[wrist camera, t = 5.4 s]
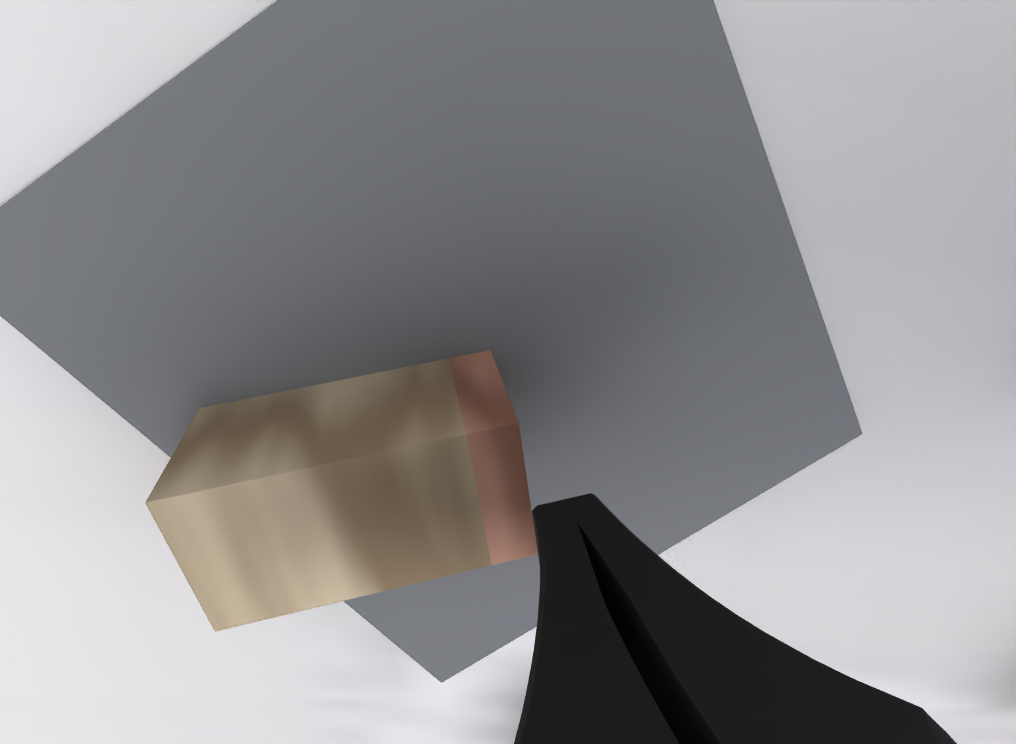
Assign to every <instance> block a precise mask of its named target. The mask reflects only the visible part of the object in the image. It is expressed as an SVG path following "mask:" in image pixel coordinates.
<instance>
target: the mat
mask: <svg viewBox="0 0 1016 744" xmlns="http://www.w3.org/2000/svg"><path fill="white" fill-rule="evenodd" d="M0 316H1V317H3V318H4V319H5V320H6V321H7V322H9V323H10V324H11V325H12V326H13V327H15V328H16V329H17V330H18V331H19V332H21V333H22V334H23V335H24V336H25V337H27V338H28V339H29V340H30V341H31V342H33V343H34V344H35V345H36V346H37V347H39V348H40V349H41V350H42V351H43V352H45V353H46V354H47V355H48V356H49V357H51V358H52V359H53V360H54V361H55V362H57V363H58V364H59V365H60V366H61V367H63V368H64V369H65V370H66V371H67V372H69V373H70V374H71V375H72V376H73V377H75V378H76V379H77V380H78V381H79V382H81V383H82V384H83V385H84V386H85V387H87V388H88V389H89V390H90V391H91V392H93V393H94V394H95V395H96V396H97V397H99V398H100V399H101V400H102V401H103V402H105V403H106V404H107V405H108V406H110V407H111V408H112V409H113V410H114V411H116V412H117V413H118V414H119V415H120V416H122V417H123V418H124V419H125V420H126V421H128V422H129V423H130V424H131V425H132V426H134V427H135V428H136V429H137V430H138V431H140V432H141V433H142V434H143V435H144V436H146V437H147V438H148V439H149V440H150V441H152V442H153V443H154V444H155V445H156V446H158V447H159V448H160V449H161V450H162V451H164V452H165V453H166V454H167V455H168V456H170V457H172V455H173V453H174V452H175V450H176V448H177V446H178V445H179V443H180V441H181V439H182V438H183V436H184V434H185V432H186V431H187V429H188V427H189V425H190V424H191V422H192V420H193V418H194V417H195V415H196V413H197V411H198V410H199V408H203V407H208V406H213V405H218V404H223V403H228V402H233V401H238V400H243V399H248V398H253V397H258V396H263V395H268V394H273V393H278V392H283V391H288V390H293V389H298V388H303V387H308V386H313V385H318V384H323V383H328V382H333V381H338V380H343V379H348V378H353V377H358V376H363V375H368V374H373V373H378V372H383V371H388V370H393V369H398V368H403V367H408V366H413V365H418V364H423V363H428V362H433V361H438V360H443V359H448V358H453V357H458V356H463V355H468V354H473V353H478V352H483V351H488V350H491V353H492V355H493V358H494V360H495V363H496V365H497V368H498V370H499V373H500V376H501V378H502V381H503V383H504V386H505V388H506V391H507V394H508V396H509V399H510V401H511V404H512V406H513V409H514V411H515V414H516V417H517V419H518V422H519V427H520V434H521V441H522V448H523V454H524V461H525V468H526V475H527V482H528V489H529V496H530V503H531V510H533V509H534V508H535V507H536V506H537V505H541V504H546V503H550V502H554V501H559V500H563V499H567V498H572V497H576V496H581V495H585V494H589V493H592V494H594V495H595V496H597V497H598V498H599V499H600V500H601V502H602V503H603V504H604V505H605V506H606V507H607V508H608V509H609V510H610V511H611V512H612V513H613V514H614V515H615V516H616V517H617V518H618V519H619V520H620V521H621V522H622V523H623V524H624V525H625V526H626V527H627V528H628V529H629V530H630V531H631V532H632V533H633V534H634V535H636V536H637V537H638V538H639V539H640V540H641V541H642V542H643V543H644V544H646V545H647V546H648V547H649V548H650V549H651V550H652V551H654V552H655V553H656V554H657V555H658V554H660V553H662V552H663V551H665V550H667V549H668V548H670V547H672V546H674V545H675V544H677V543H679V542H680V541H682V540H684V539H685V538H687V537H689V536H690V535H692V534H694V533H695V532H697V531H699V530H701V529H702V528H704V527H706V526H707V525H709V524H711V523H712V522H714V521H716V520H717V519H719V518H721V517H723V516H724V515H726V514H728V513H729V512H731V511H733V510H734V509H736V508H738V507H739V506H741V505H743V504H745V503H746V502H748V501H750V500H751V499H753V498H755V497H756V496H758V495H760V494H761V493H763V492H765V491H767V490H768V489H770V488H772V487H773V486H775V485H777V484H778V483H780V482H782V481H783V480H785V479H787V478H789V477H790V476H792V475H794V474H795V473H797V472H799V471H800V470H802V469H804V468H805V467H807V466H809V465H811V464H812V463H814V462H816V461H817V460H819V459H821V458H822V457H824V456H826V455H827V454H829V453H831V452H833V451H834V450H836V449H838V448H839V447H841V446H843V445H844V444H846V443H848V442H849V441H851V440H853V439H854V438H856V437H858V436H860V435H861V434H862V431H861V428H860V425H859V422H858V419H857V417H856V414H855V411H854V408H853V405H852V402H851V399H850V396H849V393H848V390H847V387H846V385H845V382H844V379H843V376H842V373H841V370H840V367H839V364H838V361H837V358H836V356H835V353H834V350H833V347H832V344H831V341H830V338H829V335H828V332H827V329H826V326H825V324H824V321H823V318H822V315H821V312H820V309H819V306H818V303H817V300H816V297H815V294H814V292H813V289H812V286H811V283H810V280H809V277H808V274H807V271H806V268H805V265H804V263H803V260H802V257H801V254H800V251H799V248H798V245H797V242H796V239H795V236H794V233H793V231H792V228H791V225H790V222H789V219H788V216H787V213H786V210H785V207H784V204H783V201H782V199H781V196H780V193H779V190H778V187H777V184H776V181H775V178H774V175H773V172H772V170H771V167H770V164H769V161H768V158H767V155H766V152H765V149H764V146H763V143H762V140H761V138H760V135H759V132H758V129H757V126H756V123H755V120H754V117H753V114H752V111H751V108H750V106H749V103H748V100H747V97H746V94H745V91H744V88H743V85H742V82H741V79H740V77H739V74H738V71H737V68H736V65H735V62H734V59H733V56H732V53H731V50H730V47H729V45H728V42H727V39H726V36H725V33H724V30H723V27H722V24H721V21H720V18H719V15H718V13H717V10H716V7H715V4H714V1H713V0H278V1H277V2H275V3H274V4H272V5H271V6H270V7H268V8H267V9H266V10H264V11H263V12H262V13H260V14H259V15H258V16H256V17H255V18H254V19H252V20H251V21H250V22H248V23H247V24H246V25H244V26H243V27H242V28H240V29H239V30H238V31H236V32H235V33H234V34H232V35H231V36H230V37H228V38H227V39H226V40H224V41H223V42H221V43H220V44H219V45H217V46H216V47H215V48H213V49H212V50H211V51H209V52H208V53H207V54H205V55H204V56H203V57H201V58H200V59H199V60H197V61H196V62H195V63H193V64H192V65H191V66H189V67H188V68H187V69H185V70H184V71H183V72H181V73H180V74H179V75H177V76H176V77H175V78H173V79H172V80H170V81H169V82H168V83H166V84H165V85H164V86H162V87H161V88H160V89H158V90H157V91H156V92H154V93H153V94H152V95H150V96H149V97H148V98H146V99H145V100H144V101H142V102H141V103H140V104H138V105H137V106H136V107H134V108H133V109H132V110H130V111H129V112H128V113H126V114H125V115H124V116H122V117H121V118H119V119H118V120H117V121H115V122H114V123H113V124H111V125H110V126H109V127H107V128H106V129H105V130H103V131H102V132H101V133H99V134H98V135H97V136H95V137H94V138H93V139H91V140H90V141H89V142H87V143H86V144H85V145H83V146H82V147H81V148H79V149H78V150H77V151H75V152H74V153H73V154H71V155H70V156H68V157H67V158H66V159H64V160H63V161H62V162H60V163H59V164H58V165H56V166H55V167H54V168H52V169H51V170H50V171H48V172H47V173H46V174H44V175H43V176H42V177H40V178H39V179H38V180H36V181H35V182H34V183H32V184H31V185H30V186H28V187H27V188H26V189H24V190H23V191H22V192H20V193H19V194H17V195H16V196H15V197H13V198H12V199H11V200H9V201H8V202H7V203H5V204H4V205H3V206H1V207H0ZM532 517H533V516H532ZM533 524H534V523H533ZM534 531H535V530H534ZM535 538H536V537H535ZM536 545H537V543H536ZM537 552H538V550H537ZM539 592H540V564H539V557H538V554H537V555H533V556H529V557H525V558H520V559H516V560H512V561H508V562H504V563H499V564H495V565H491V566H487V567H483V568H479V569H474V570H470V571H466V572H462V573H458V574H453V575H449V576H445V577H441V578H437V579H433V580H428V581H424V582H420V583H416V584H412V585H407V586H403V587H399V588H395V589H391V590H387V591H382V592H378V593H374V594H370V595H366V596H362V597H357V598H353V599H349V600H345V601H344V602H345V603H346V604H348V605H349V606H350V607H351V608H352V609H354V610H355V611H356V612H357V613H358V614H360V615H361V616H362V617H363V618H364V619H366V620H367V621H368V622H369V623H370V624H372V625H373V626H374V627H375V628H376V629H378V630H379V631H380V632H381V633H382V634H384V635H385V636H386V637H387V638H388V639H390V640H391V641H392V642H393V643H394V644H396V645H397V646H398V647H399V648H400V649H402V650H403V651H404V652H405V653H406V654H408V655H409V656H410V657H411V658H413V659H414V660H415V661H416V662H417V663H419V664H420V665H421V666H422V667H423V668H425V669H426V670H427V671H428V672H429V673H431V674H432V675H433V676H434V677H435V678H437V679H438V680H439V681H440V682H441V683H442V682H443V681H445V680H447V679H449V678H450V677H452V676H454V675H455V674H457V673H459V672H460V671H462V670H464V669H465V668H467V667H469V666H471V665H472V664H474V663H476V662H477V661H479V660H481V659H482V658H484V657H486V656H487V655H489V654H491V653H493V652H494V651H496V650H498V649H499V648H501V647H503V646H504V645H506V644H508V643H509V642H511V641H513V640H515V639H516V638H518V637H520V636H521V635H523V634H525V633H526V632H528V631H530V630H531V629H533V628H535V627H537V620H538V606H539Z"/></svg>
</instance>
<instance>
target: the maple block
mask: <svg viewBox="0 0 1016 744" xmlns="http://www.w3.org/2000/svg"><path fill="white" fill-rule="evenodd" d="M146 505H147V507H148V509H149V510H150V512H151V514H152V516H153V518H154V520H155V522H156V523H157V525H158V527H159V529H160V531H161V533H162V535H163V536H164V538H165V540H166V542H167V544H168V546H169V547H170V549H171V551H172V553H173V555H174V557H175V559H176V560H177V562H178V564H179V566H180V568H181V570H182V572H183V573H184V575H185V577H186V579H187V581H188V583H189V585H190V586H191V588H192V590H193V592H194V594H195V596H196V598H197V599H198V601H199V603H200V605H201V607H202V609H203V611H204V612H205V614H206V616H207V618H208V620H209V622H210V623H211V625H212V627H213V629H214V631H219V630H224V629H228V628H232V627H236V626H240V625H244V624H249V623H253V622H257V621H261V620H265V619H270V618H274V617H278V616H282V615H286V614H290V613H295V612H299V611H303V610H307V609H311V608H316V607H320V606H324V605H328V604H332V603H336V602H341V601H345V600H349V599H353V598H357V597H362V596H366V595H370V594H374V593H378V592H382V591H387V590H391V589H395V588H399V587H403V586H407V585H412V584H416V583H420V582H424V581H428V580H433V579H437V578H441V577H445V576H449V575H453V574H458V573H462V572H466V571H470V570H474V569H479V568H483V567H487V566H491V565H495V564H499V563H504V562H508V561H512V560H516V559H520V558H525V557H529V556H533V555H537V554H538V552H537V545H536V538H535V531H534V524H533V517H532V510H531V503H530V496H529V489H528V482H527V475H526V468H525V461H524V454H523V448H522V441H521V434H520V427H519V422H518V419H517V417H516V414H515V411H514V409H513V406H512V404H511V401H510V399H509V396H508V394H507V391H506V388H505V386H504V383H503V381H502V378H501V376H500V373H499V370H498V368H497V365H496V363H495V360H494V358H493V355H492V353H491V350H488V351H483V352H478V353H473V354H468V355H463V356H458V357H453V358H448V359H443V360H438V361H433V362H428V363H423V364H418V365H413V366H408V367H403V368H398V369H393V370H388V371H383V372H378V373H373V374H368V375H363V376H358V377H353V378H348V379H343V380H338V381H333V382H328V383H323V384H318V385H313V386H308V387H303V388H298V389H293V390H288V391H283V392H278V393H273V394H268V395H263V396H258V397H253V398H248V399H243V400H238V401H233V402H228V403H223V404H218V405H213V406H208V407H203V408H199V410H198V411H197V413H196V415H195V417H194V418H193V420H192V422H191V424H190V425H189V427H188V429H187V431H186V432H185V434H184V436H183V438H182V439H181V441H180V443H179V445H178V446H177V448H176V450H175V452H174V453H173V455H172V457H171V459H170V460H169V462H168V464H167V466H166V468H165V469H164V471H163V473H162V475H161V476H160V478H159V480H158V482H157V483H156V485H155V487H154V489H153V490H152V492H151V494H150V496H149V497H148V499H147V501H146Z"/></svg>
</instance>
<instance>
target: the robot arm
mask: <svg viewBox="0 0 1016 744" xmlns="http://www.w3.org/2000/svg"><path fill="white" fill-rule="evenodd" d="M532 516H533V523H534V530H535V537H536V543H537V550H538V557H539V564H540V592H539V606H538V620H537V629H536V637H535V645H534V652H533V658H532V665H531V670H530V676H529V681H528V686H527V691H526V696H525V701H524V706H523V710H522V715H521V719H520V723H519V727H518V730H517V734H516V738H515V742H514V744H957V743H956V742H955V741H954V740H953V739H952V738H951V737H950V736H949V735H948V734H947V732H946V731H944V730H943V729H942V728H941V727H940V726H939V725H938V724H937V723H936V722H935V721H934V720H933V719H932V718H931V717H930V716H929V715H928V714H927V713H926V712H925V711H924V709H923V708H921V707H918V706H916V705H914V704H911V703H909V702H907V701H904V700H902V699H900V698H897V697H895V696H893V695H890V694H888V693H886V692H883V691H881V690H878V689H876V688H874V687H871V686H869V685H867V684H864V683H862V682H860V681H857V680H855V679H853V678H851V677H849V676H847V675H844V674H842V673H840V672H838V671H836V670H834V669H832V668H830V667H828V666H826V665H824V664H822V663H820V662H818V661H816V660H814V659H812V658H810V657H808V656H807V655H805V654H803V653H801V652H799V651H798V650H796V649H794V648H792V647H790V646H789V645H787V644H785V643H783V642H781V641H779V640H778V639H776V638H774V637H772V636H770V635H769V634H767V633H765V632H764V631H762V630H760V629H759V628H757V627H755V626H754V625H752V624H751V623H749V622H748V621H746V620H744V619H743V618H741V617H740V616H738V615H736V614H735V613H733V612H732V611H730V610H729V609H728V608H726V607H725V606H723V605H722V604H720V603H719V602H717V601H716V600H714V599H713V598H712V597H710V596H709V595H707V594H706V593H705V592H703V591H702V590H701V589H699V588H698V587H696V586H695V585H694V584H693V583H691V582H690V581H689V580H687V579H686V578H685V577H684V576H682V575H681V574H680V573H678V572H677V571H676V570H675V569H673V568H672V567H671V566H670V565H669V564H667V563H666V562H665V561H664V560H663V559H661V558H660V557H659V556H658V555H657V554H656V553H655V552H654V551H652V550H651V549H650V548H649V547H648V546H647V545H646V544H644V543H643V542H642V541H641V540H640V539H639V538H638V537H637V536H636V535H634V534H633V533H632V532H631V531H630V530H629V529H628V528H627V527H626V526H625V525H624V524H623V523H622V522H621V521H620V520H619V519H618V518H617V517H616V516H615V515H614V514H613V513H612V512H611V511H610V510H609V509H608V508H607V507H606V506H605V505H604V504H603V503H602V502H601V500H600V499H599V498H598V497H597V496H595V495H594V494H592V493H589V494H585V495H581V496H576V497H572V498H567V499H563V500H559V501H554V502H550V503H546V504H541V505H537V506H536V507H535V508H534V509H533V510H532Z"/></svg>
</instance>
